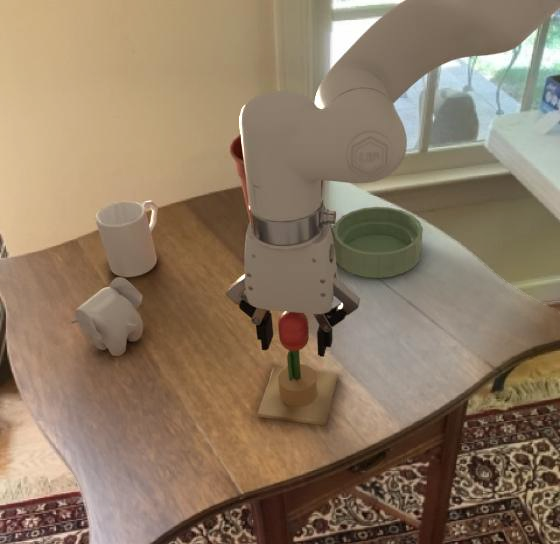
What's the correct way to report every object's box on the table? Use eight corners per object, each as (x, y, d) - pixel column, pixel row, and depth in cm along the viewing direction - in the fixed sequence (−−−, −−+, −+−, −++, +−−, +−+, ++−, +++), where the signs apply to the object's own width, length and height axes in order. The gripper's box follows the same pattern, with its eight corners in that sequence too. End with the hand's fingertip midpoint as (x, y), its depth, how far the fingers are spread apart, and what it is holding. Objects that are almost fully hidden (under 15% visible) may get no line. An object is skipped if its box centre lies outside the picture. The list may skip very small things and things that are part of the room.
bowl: (423, 235, 113) (425, 209, 110) (416, 284, 103) (418, 257, 100) (341, 229, 116) (341, 204, 113) (327, 277, 106) (326, 251, 103)
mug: (181, 247, 116) (171, 196, 109) (134, 282, 109) (120, 231, 102) (148, 235, 119) (136, 185, 112) (100, 269, 112) (84, 218, 106)
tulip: (320, 382, 88) (317, 300, 79) (312, 409, 85) (308, 327, 75) (284, 378, 89) (276, 297, 80) (275, 404, 86) (266, 323, 76)
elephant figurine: (106, 310, 104) (91, 263, 98) (164, 332, 99) (152, 285, 93) (62, 345, 98) (43, 298, 92) (122, 371, 93) (106, 323, 87)
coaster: (337, 376, 90) (337, 373, 89) (326, 425, 83) (325, 422, 83) (274, 369, 92) (273, 366, 91) (257, 416, 85) (257, 413, 85)
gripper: (373, 205, 70) (369, 333, 82) (218, 196, 73) (236, 320, 86) (363, 244, 64) (360, 375, 77) (197, 232, 68) (219, 359, 81)
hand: (295, 345), depth 81 cm, fingers open, 6 cm apart
